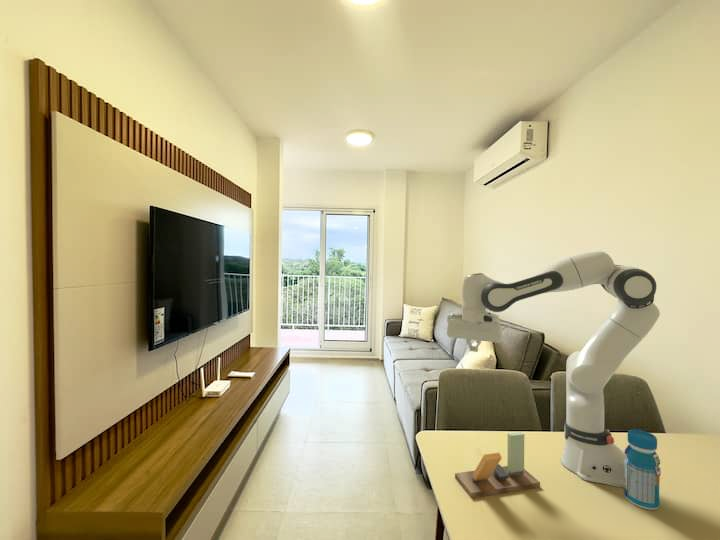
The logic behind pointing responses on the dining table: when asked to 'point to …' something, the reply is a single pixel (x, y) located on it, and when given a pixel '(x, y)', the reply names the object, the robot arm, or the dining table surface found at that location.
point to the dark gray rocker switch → (500, 473)
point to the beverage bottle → (642, 470)
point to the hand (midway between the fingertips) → (473, 351)
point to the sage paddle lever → (515, 453)
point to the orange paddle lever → (486, 466)
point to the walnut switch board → (495, 483)
